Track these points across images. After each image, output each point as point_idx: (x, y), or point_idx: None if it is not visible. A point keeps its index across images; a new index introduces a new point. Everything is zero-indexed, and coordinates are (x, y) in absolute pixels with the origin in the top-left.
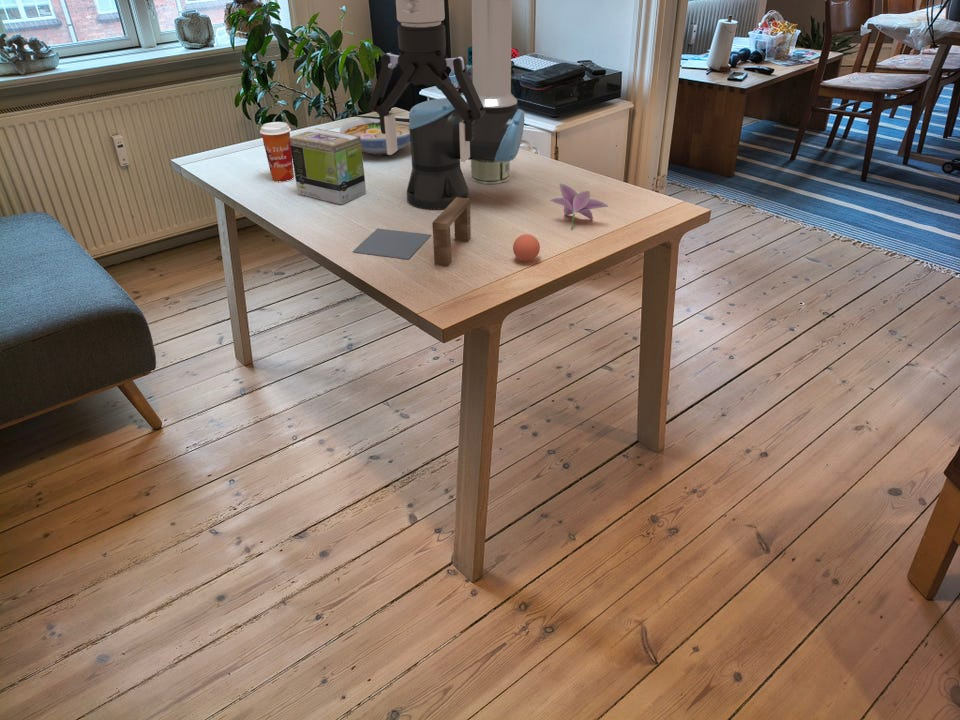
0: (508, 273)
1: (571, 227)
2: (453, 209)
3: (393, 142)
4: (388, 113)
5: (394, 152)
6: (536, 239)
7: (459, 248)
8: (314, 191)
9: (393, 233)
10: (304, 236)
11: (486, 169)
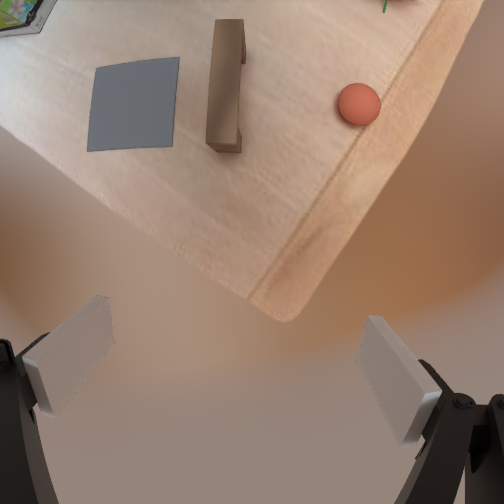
0: (338, 156)
1: (384, 9)
2: (227, 72)
3: (97, 338)
4: (28, 382)
5: (111, 320)
6: (378, 99)
7: None
8: (7, 33)
9: (122, 73)
10: (23, 131)
11: None
